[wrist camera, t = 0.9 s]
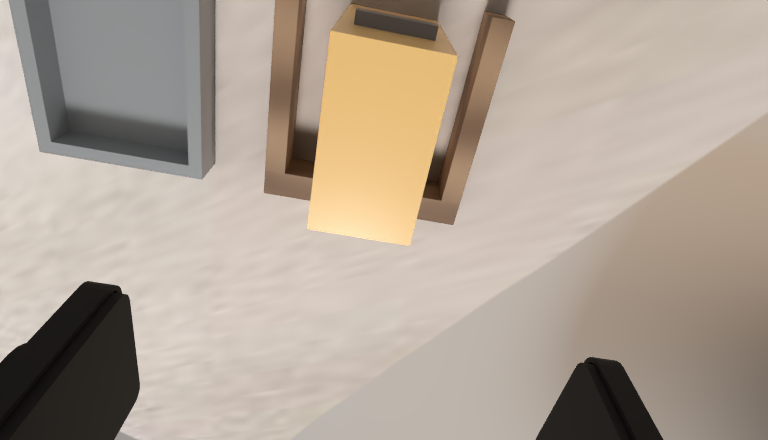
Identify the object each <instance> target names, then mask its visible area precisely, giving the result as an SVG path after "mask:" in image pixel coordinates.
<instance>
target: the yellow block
mask: <svg viewBox="0 0 768 440" xmlns="http://www.w3.org/2000/svg"><path fill="white" fill-rule="evenodd" d="M457 59H458V55H457V53H456V51H455V50H454V48H453V46H452V45H451V43H450V41H449V40H448V38H447V36H446V35H445V33H444V31H443V30H442V28H441V26H440V25H439V23H438V21H434V20H429V19H424V18H419V17H414V16H409V15H404V14H399V13H395V12H390V11H385V10H380V9H375V8H370V7H365V6H360V5H355V4H351V5H350V6H349V7H348V8H347V10H346V11H345V12H344V14H343V15H342V16H341V18H340V19H339V20H338V21H337V23H336V24H335V25H334V27H333V28H332V29H331V31H330V38H329V47H328V55H327V64H326V72H325V81H324V89H323V98H322V106H321V115H320V123H319V132H318V140H317V149H316V157H315V166H314V174H313V183H312V191H311V200H310V208H309V217H308V225H307V229H310V230H316V231H322V232H328V233H334V234H340V235H346V236H352V237H358V238H364V239H371V240H377V241H383V242H389V243H395V244H401V245H407V246H410V243H411V239H412V235H413V231H414V227H415V223H416V219H417V215H418V212H419V208H420V204H421V200H422V196H423V192H424V188H425V184H426V180H427V176H428V172H429V168H430V165H431V161H432V157H433V153H434V149H435V145H436V141H437V137H438V133H439V129H440V125H441V121H442V117H443V114H444V110H445V106H446V102H447V98H448V94H449V90H450V86H451V82H452V78H453V74H454V70H455V67H456V63H457Z"/></svg>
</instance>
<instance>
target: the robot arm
mask: <svg viewBox="0 0 768 440" xmlns="http://www.w3.org/2000/svg"><path fill="white" fill-rule="evenodd" d="M139 389H140V382H139V373H138V365H137V357H136V348H135V340H134V331H133V323H132V315H131V306H130V299H129V296H128V295H126V294H122V291H121V288H120V287H119V286H116V285H110V284H103V283H97V282H90V281H87V282H84V283H83V284H82V285H81V286H79V288H78V289H77V290H76V291H75V292H74V293H73V294H72V295H71V296H70V297H69V298H68V299H67V300H66V301H65V302H64V304H63V305H62V306H61V307H60V308H59V309H58V310H57V311H56V312H55V313H54V314H53V315H52V316H51V317H50V319H49V320H48V321H47V322H46V323H45V324H44V325H43V326H42V327H41V328H40V329H39V330H38V331H37V332H36V333H35V335H34V336H33V337H32V338H31V339H30V340H29V341H28V342H27V343H24V344H22V345H20V346H18V347H16V348H15V349H14V350H13V351H12V352H11V353H9V354H8V355H7V356H6V357H5V358H4V360H3V361H2V362H1V363H0V440H114V439H115V437H116V435H117V434H118V432H119V430H120V428H121V427H122V425H123V423H124V421H125V420H126V418H127V416H128V414H129V413H130V411H131V409H132V407H133V406H134V404H135V402H136V400H137V397H138V394H139ZM536 440H663V438H662V436H661V435H660V433H659V431H658V429H657V427H656V426H655V424H654V422H653V420H652V418H651V417H650V415H649V413H648V411H647V409H646V408H645V406H644V404H643V402H642V400H641V398H640V397H639V395H638V393H637V391H636V389H635V387H634V386H633V384H632V382H631V380H630V379H629V377H628V375H627V373H626V371H625V369H624V367H623V366H622V365H621V363H619V362H618V361H614V360H607V359H600V358H594V357H589V358H587V359H586V360H585V362H584V363H579V364H578V365H577V366H576V368H575V370H574V371H573V373H572V375H571V377H570V379H569V380H568V382H567V384H566V386H565V387H564V389H563V391H562V393H561V395H560V396H559V398H558V400H557V402H556V404H555V405H554V407H553V409H552V411H551V413H550V414H549V416H548V418H547V420H546V422H545V424H544V425H543V427H542V429H541V430H540V432H539V434H538V436H537V438H536Z"/></svg>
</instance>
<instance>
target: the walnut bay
mask: <svg viewBox="0 0 768 440" xmlns="http://www.w3.org/2000/svg"><path fill="white" fill-rule="evenodd" d="M306 1H307V0H275V15H274V32H273V49H272V66H271V83H270V99H269V116H268V133H267V150H266V167H265V184H264V193H268V194H274V195H280V196H286V197H292V198H297V199H303V200H309V201H310V200H311V191H312V183H313V174H314V166H315V162H313V161H307V160H302V159H296V158H292V155H293V144H294V133H295V122H296V111H297V100H298V89H299V78H300V67H301V56H302V45H303V34H304V23H305V12H306ZM514 24H515V21H513V20H512V19H510V18H508V17H507V16H505V15H500V14H495V13H490V12H484V16H483V20H482V23H481V27H480V31H479V35H478V38H477V42H476V46H475V49H474V53H473V57H472V60H471V64H470V68H469V72H468V75H467V79H466V83H465V86H464V90H463V94H462V97H461V101H460V105H459V108H458V112H457V116H456V120H455V123H454V127H453V131H452V134H451V138H450V142H449V145H448V149H447V153H446V157H445V160H444V164H443V168H442V171H441V175H440V179H439V182H438V184H437V183H432V182H426V184H425V188H424V192H423V196H422V200H421V204H420V208H419V212H418V215H417V219H421V220H427V221H433V222H438V223H444V224H450V225H453V224H454V221H455V217H456V214H457V211H458V208H459V204H460V201H461V198H462V194H463V191H464V188H465V185H466V181H467V178H468V175H469V171H470V168H471V165H472V162H473V158H474V155H475V152H476V148H477V145H478V142H479V139H480V135H481V132H482V129H483V125H484V122H485V119H486V116H487V112H488V109H489V106H490V102H491V99H492V96H493V93H494V89H495V86H496V83H497V79H498V76H499V73H500V70H501V66H502V63H503V60H504V56H505V53H506V50H507V47H508V43H509V40H510V37H511V33H512V30H513V27H514Z"/></svg>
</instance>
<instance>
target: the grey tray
mask: <svg viewBox="0 0 768 440" xmlns="http://www.w3.org/2000/svg"><path fill="white" fill-rule="evenodd" d="M9 4H10V9H11V14H12V19H13V24H14V28H15V33H16V38H17V43H18V48H19V53H20V58H21V62H22V67H23V72H24V77H25V82H26V87H27V92H28V96H29V101H30V106H31V111H32V116H33V121H34V126H35V130H36V135H37V140H38V145H39V150H40V152H44V153H50V154H56V155H62V156H68V157H73V158H79V159H85V160H91V161H97V162H103V163H109V164H114V165H120V166H126V167H132V168H138V169H144V170H150V171H155V172H161V173H167V174H173V175H179V176H185V177H191V178H196V179H203V177H204V176H205V175H206V174H207V173H208V171H209V170H210V169H211V168H212V167H213V165H214V164H215V0H9Z"/></svg>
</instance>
